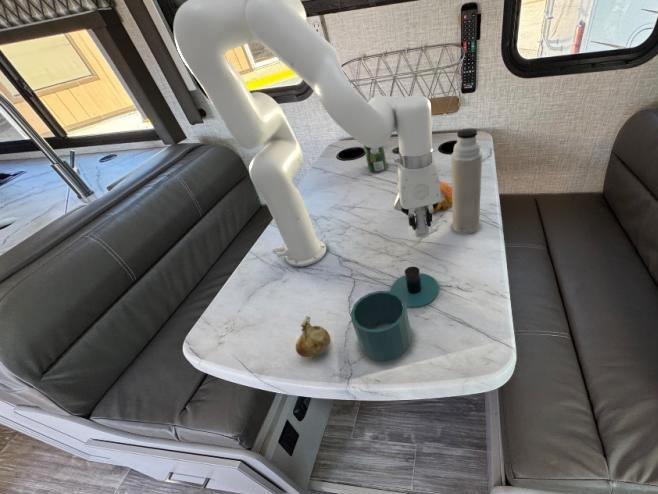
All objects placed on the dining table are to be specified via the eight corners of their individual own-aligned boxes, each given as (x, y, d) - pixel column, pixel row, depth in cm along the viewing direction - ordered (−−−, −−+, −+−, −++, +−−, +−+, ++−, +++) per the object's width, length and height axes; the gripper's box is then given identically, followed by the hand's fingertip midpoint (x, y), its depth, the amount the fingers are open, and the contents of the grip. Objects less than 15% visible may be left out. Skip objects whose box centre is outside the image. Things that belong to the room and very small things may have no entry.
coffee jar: (368, 164, 146) (359, 118, 133) (386, 162, 145) (379, 115, 132) (368, 174, 139) (358, 127, 126) (387, 171, 138) (379, 123, 125)
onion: (292, 356, 76) (279, 334, 71) (316, 332, 80) (306, 309, 75) (316, 370, 73) (304, 348, 67) (340, 344, 77) (330, 321, 71)
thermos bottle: (447, 229, 104) (444, 134, 84) (461, 217, 107) (461, 123, 88) (470, 236, 99) (472, 139, 80) (484, 223, 103) (489, 127, 84)
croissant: (409, 218, 115) (404, 198, 109) (421, 190, 123) (417, 170, 117) (450, 219, 110) (448, 199, 104) (460, 190, 118) (458, 170, 112)
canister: (365, 368, 71) (354, 338, 64) (358, 329, 79) (348, 298, 72) (416, 355, 72) (411, 323, 65) (405, 317, 80) (399, 285, 73)
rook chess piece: (416, 239, 91) (413, 213, 85) (411, 231, 94) (408, 205, 88) (431, 235, 91) (430, 209, 85) (426, 227, 94) (425, 201, 89)
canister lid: (396, 314, 81) (392, 294, 76) (387, 282, 90) (382, 261, 85) (445, 302, 82) (444, 281, 77) (431, 271, 91) (429, 250, 86)
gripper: (384, 171, 74) (393, 239, 87) (455, 157, 76) (454, 227, 89) (378, 158, 80) (388, 224, 93) (445, 146, 81) (445, 212, 94)
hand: (420, 225), depth 91 cm, fingers closed on rook chess piece, 3 cm apart
